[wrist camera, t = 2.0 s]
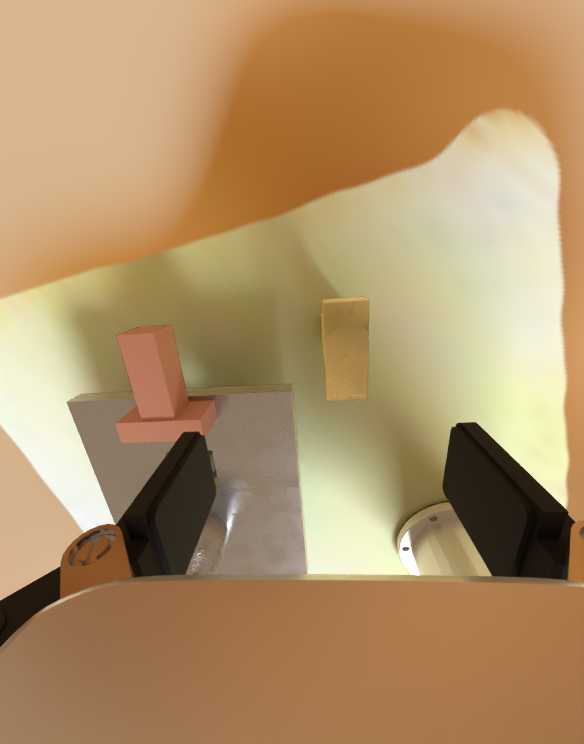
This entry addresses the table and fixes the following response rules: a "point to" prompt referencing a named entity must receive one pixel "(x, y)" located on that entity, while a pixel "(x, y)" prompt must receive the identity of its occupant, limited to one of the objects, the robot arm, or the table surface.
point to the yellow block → (345, 347)
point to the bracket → (159, 390)
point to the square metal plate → (216, 475)
